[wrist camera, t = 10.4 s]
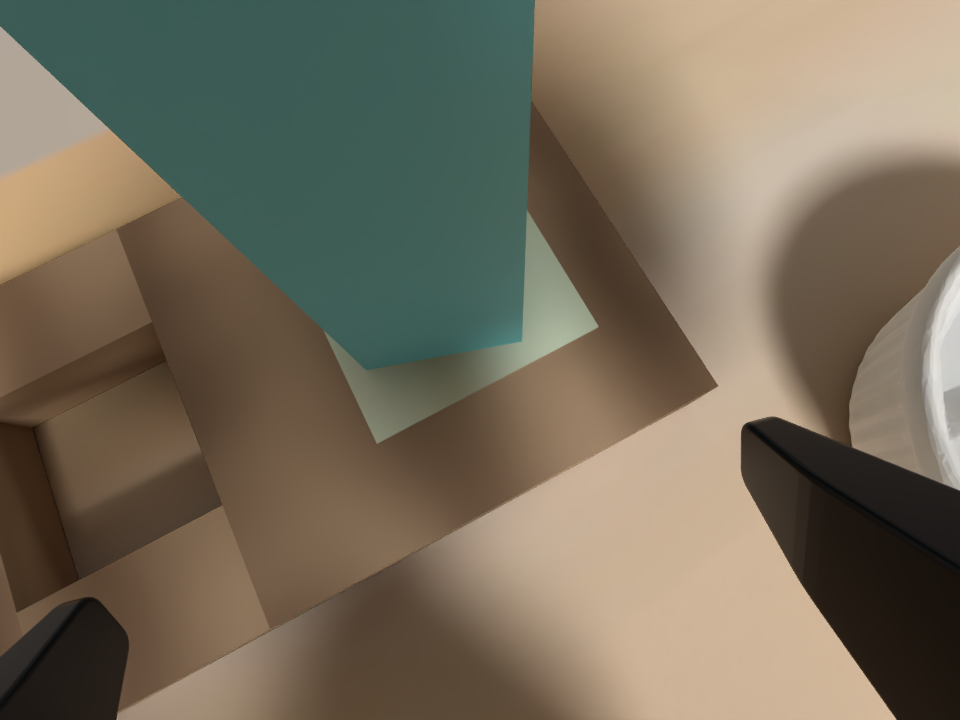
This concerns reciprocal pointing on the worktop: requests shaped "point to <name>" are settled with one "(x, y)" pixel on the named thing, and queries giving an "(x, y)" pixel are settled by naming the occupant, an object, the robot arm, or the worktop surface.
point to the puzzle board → (312, 418)
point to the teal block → (329, 146)
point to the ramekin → (915, 383)
